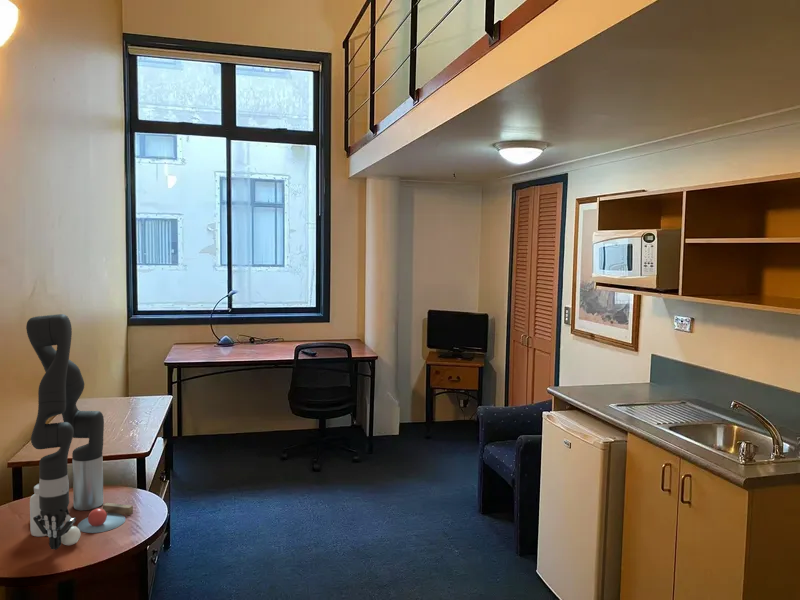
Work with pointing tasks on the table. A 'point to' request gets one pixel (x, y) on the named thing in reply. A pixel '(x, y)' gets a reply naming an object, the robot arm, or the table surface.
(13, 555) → the table surface
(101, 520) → the red ball
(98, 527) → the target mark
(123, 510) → the strip
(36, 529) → the pill bottle
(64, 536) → the cue ball
